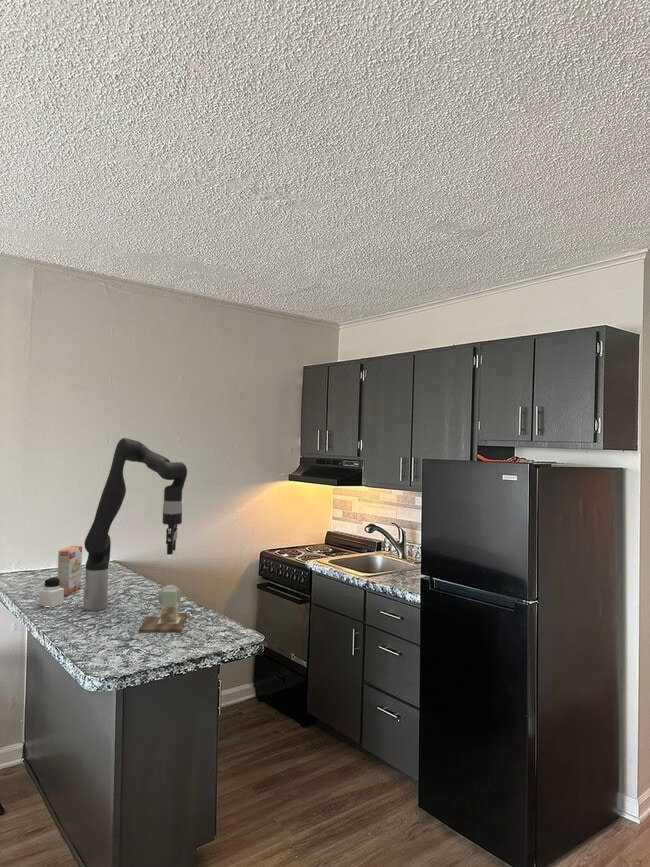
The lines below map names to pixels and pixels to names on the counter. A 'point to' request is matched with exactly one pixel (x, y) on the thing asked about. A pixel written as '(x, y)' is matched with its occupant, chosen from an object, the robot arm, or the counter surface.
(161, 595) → the donut
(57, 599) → the medicine bottle
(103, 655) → the counter surface
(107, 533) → the robot arm
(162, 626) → the baseplate
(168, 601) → the sage block
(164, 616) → the maple block
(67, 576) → the cracker box
